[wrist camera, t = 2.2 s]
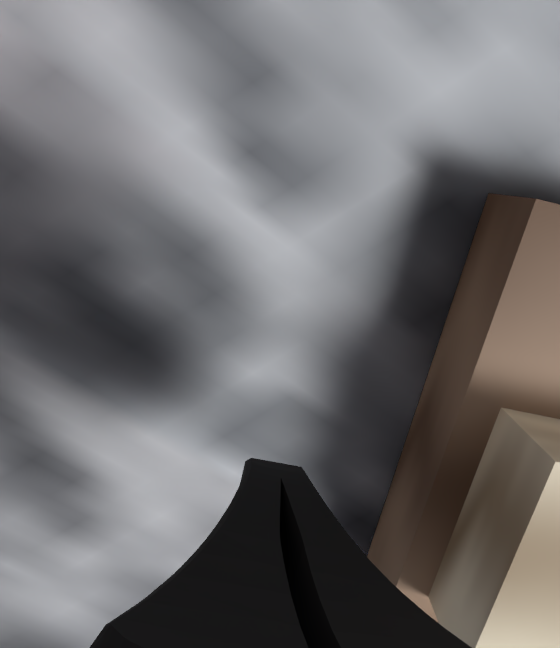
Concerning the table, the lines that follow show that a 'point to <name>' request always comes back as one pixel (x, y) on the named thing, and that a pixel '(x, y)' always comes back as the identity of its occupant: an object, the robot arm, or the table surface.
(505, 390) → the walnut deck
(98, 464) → the table surface
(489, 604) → the birch tile
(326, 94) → the table surface
